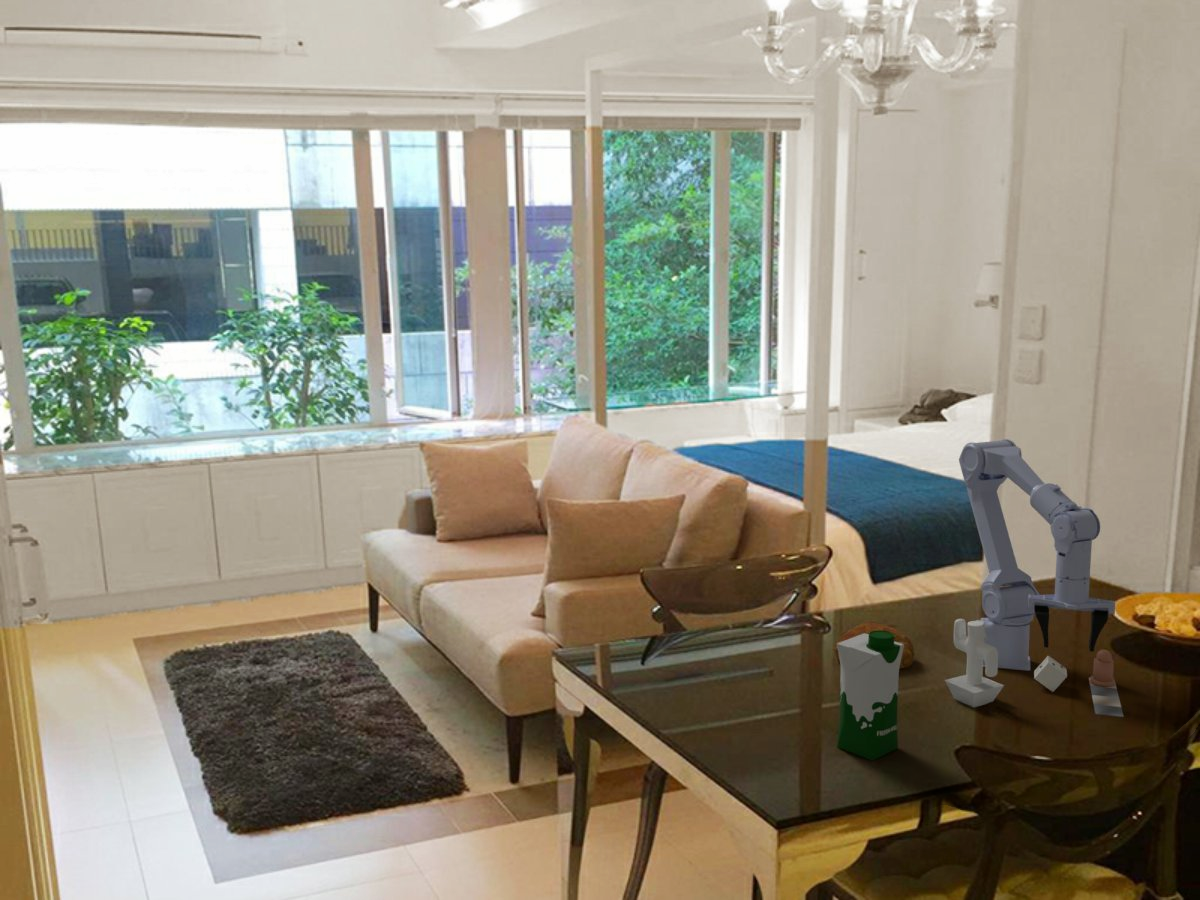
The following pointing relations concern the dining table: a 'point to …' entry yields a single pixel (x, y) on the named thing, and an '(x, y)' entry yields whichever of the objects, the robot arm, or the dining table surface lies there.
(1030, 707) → the dining table surface
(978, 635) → the figurine
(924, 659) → the dining table surface
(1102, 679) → the pawn
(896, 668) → the milk carton
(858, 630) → the croissant
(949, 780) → the dining table surface
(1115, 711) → the board
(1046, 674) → the die
